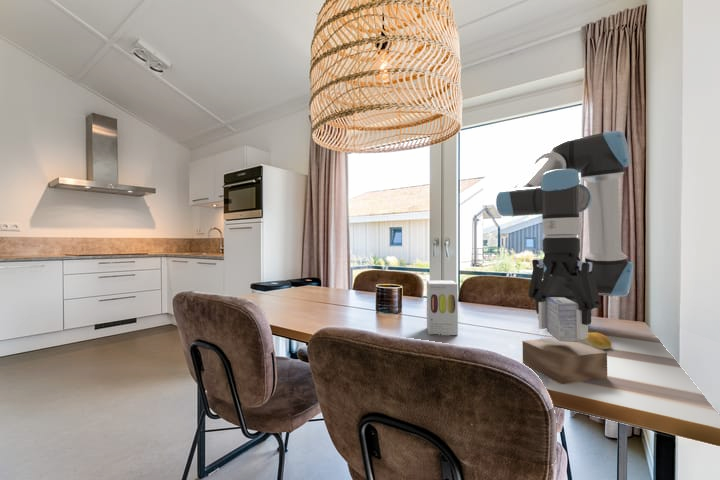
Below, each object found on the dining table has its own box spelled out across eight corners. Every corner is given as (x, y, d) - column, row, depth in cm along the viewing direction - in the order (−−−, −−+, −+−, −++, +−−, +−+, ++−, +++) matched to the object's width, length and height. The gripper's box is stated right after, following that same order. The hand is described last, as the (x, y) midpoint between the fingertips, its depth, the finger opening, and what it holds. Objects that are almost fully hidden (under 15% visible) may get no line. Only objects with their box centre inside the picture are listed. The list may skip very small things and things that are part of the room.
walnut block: (563, 360, 86) (563, 336, 86) (607, 379, 74) (607, 352, 74) (522, 365, 84) (522, 340, 84) (561, 385, 72) (561, 357, 72)
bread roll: (616, 348, 94) (616, 333, 94) (597, 353, 90) (596, 338, 90) (586, 339, 102) (586, 326, 102) (567, 344, 98) (566, 330, 98)
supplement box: (428, 335, 109) (427, 283, 109) (426, 327, 118) (425, 279, 118) (458, 336, 108) (458, 283, 107) (454, 328, 117) (453, 279, 117)
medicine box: (580, 342, 75) (579, 303, 75) (557, 341, 76) (557, 303, 75) (565, 332, 82) (565, 297, 82) (546, 331, 83) (545, 296, 83)
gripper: (511, 237, 87) (513, 324, 87) (598, 236, 67) (600, 349, 68) (532, 236, 90) (533, 320, 90) (621, 236, 70) (622, 343, 71)
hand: (562, 332), depth 79 cm, fingers closed on medicine box, 9 cm apart
